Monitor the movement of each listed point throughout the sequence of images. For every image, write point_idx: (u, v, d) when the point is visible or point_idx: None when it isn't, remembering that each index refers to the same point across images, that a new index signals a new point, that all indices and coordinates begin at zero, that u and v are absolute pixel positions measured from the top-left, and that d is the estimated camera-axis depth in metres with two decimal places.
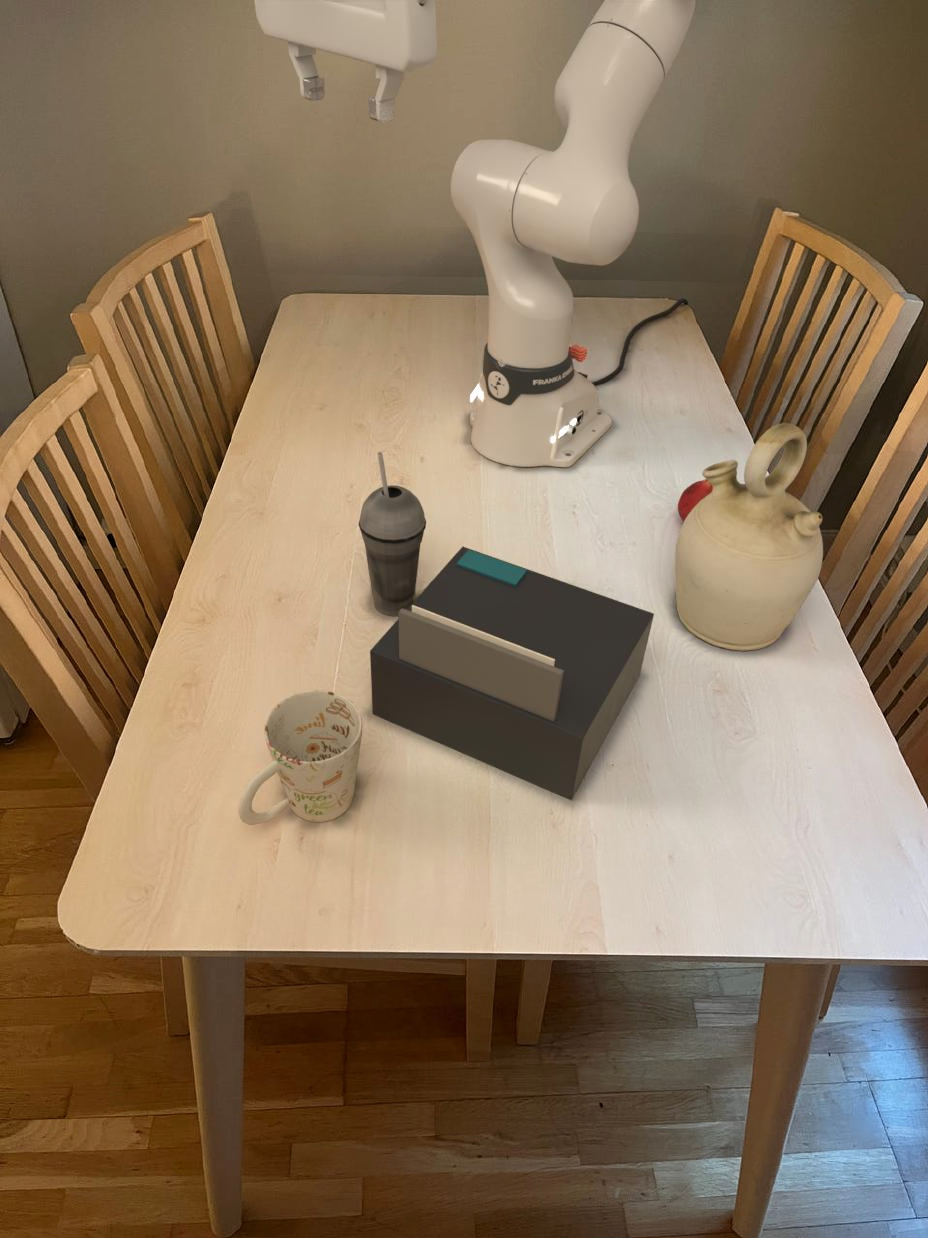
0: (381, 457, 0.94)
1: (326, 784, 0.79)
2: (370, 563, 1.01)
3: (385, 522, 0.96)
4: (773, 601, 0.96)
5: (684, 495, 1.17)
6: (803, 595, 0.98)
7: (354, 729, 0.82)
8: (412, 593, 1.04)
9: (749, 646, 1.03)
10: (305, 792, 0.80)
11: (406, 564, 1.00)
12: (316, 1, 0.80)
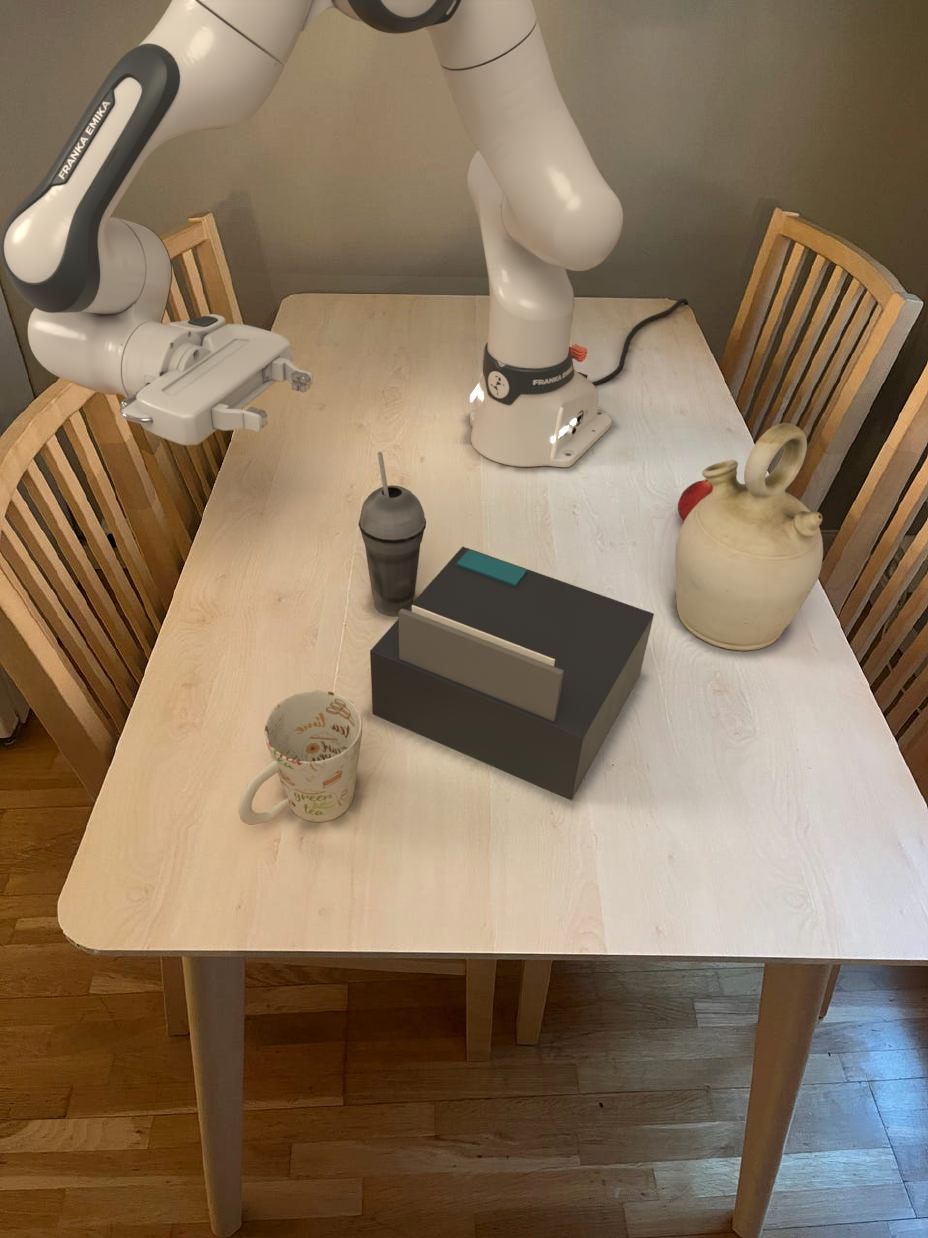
0: (381, 457, 0.94)
1: (326, 784, 0.79)
2: (370, 563, 1.01)
3: (385, 522, 0.96)
4: (773, 601, 0.96)
5: (684, 495, 1.17)
6: (803, 595, 0.98)
7: (354, 729, 0.82)
8: (412, 593, 1.04)
9: (749, 646, 1.03)
10: (305, 792, 0.80)
11: (406, 564, 1.00)
12: None
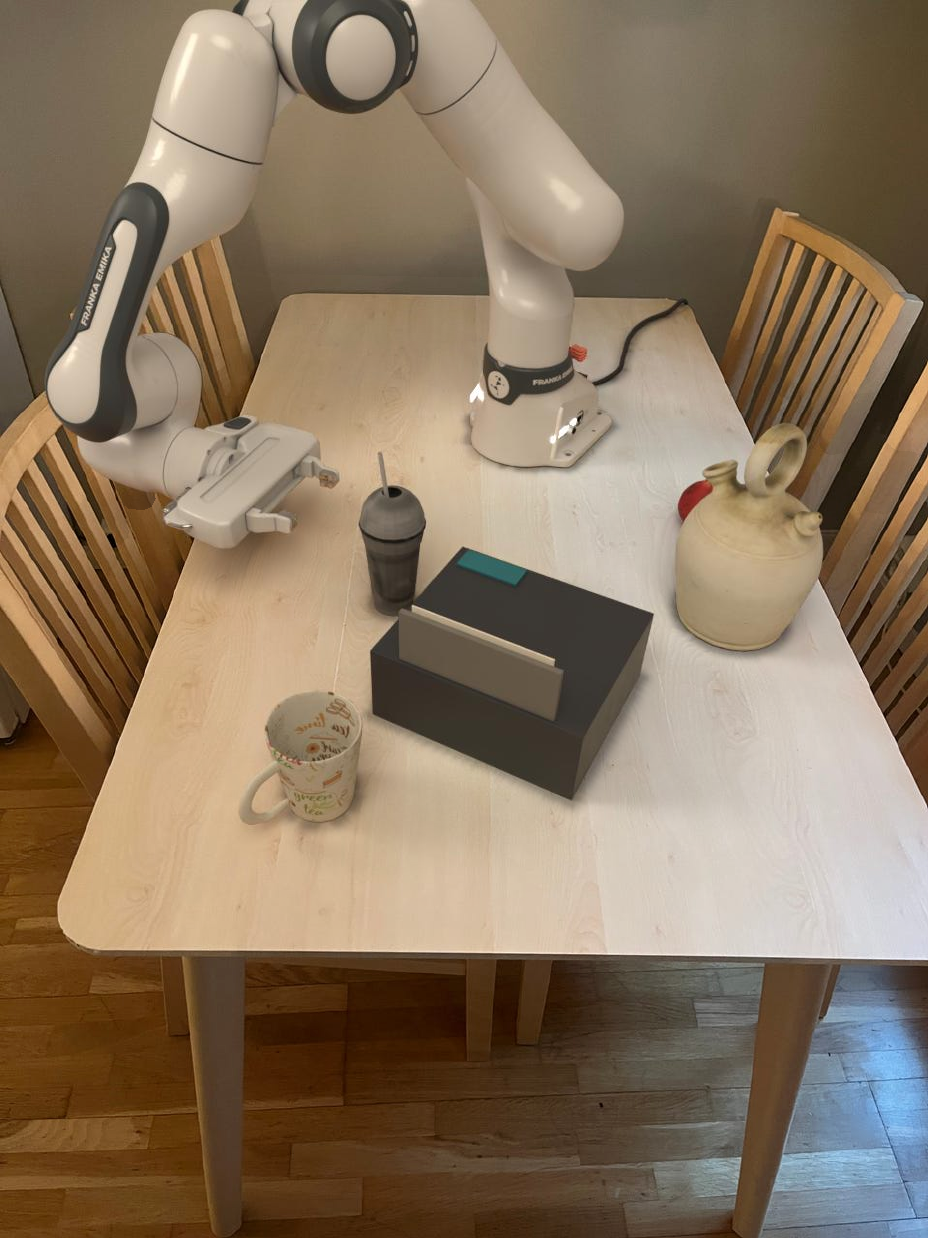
0: (381, 457, 0.94)
1: (326, 784, 0.79)
2: (370, 563, 1.01)
3: (385, 522, 0.96)
4: (773, 601, 0.96)
5: (684, 495, 1.17)
6: (803, 595, 0.98)
7: (354, 729, 0.82)
8: (412, 593, 1.04)
9: (749, 646, 1.03)
10: (305, 792, 0.80)
11: (406, 564, 1.00)
12: None
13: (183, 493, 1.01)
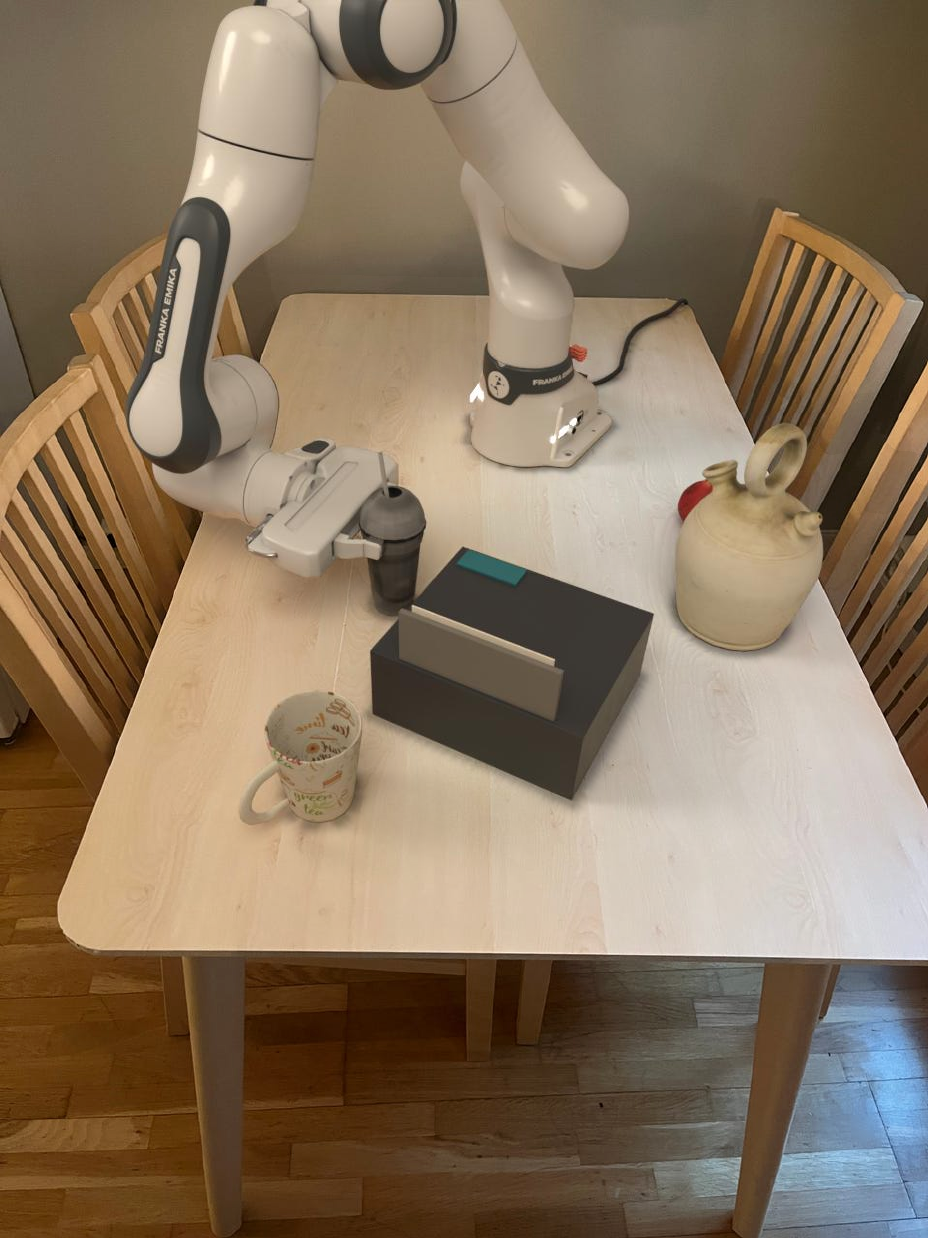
0: (381, 457, 0.94)
1: (326, 784, 0.79)
2: (370, 563, 1.01)
3: (385, 522, 0.96)
4: (773, 601, 0.96)
5: (684, 495, 1.17)
6: (803, 595, 0.98)
7: (354, 729, 0.82)
8: (412, 593, 1.04)
9: (749, 646, 1.03)
10: (305, 792, 0.80)
11: (406, 564, 1.00)
12: None
13: (265, 520, 0.99)
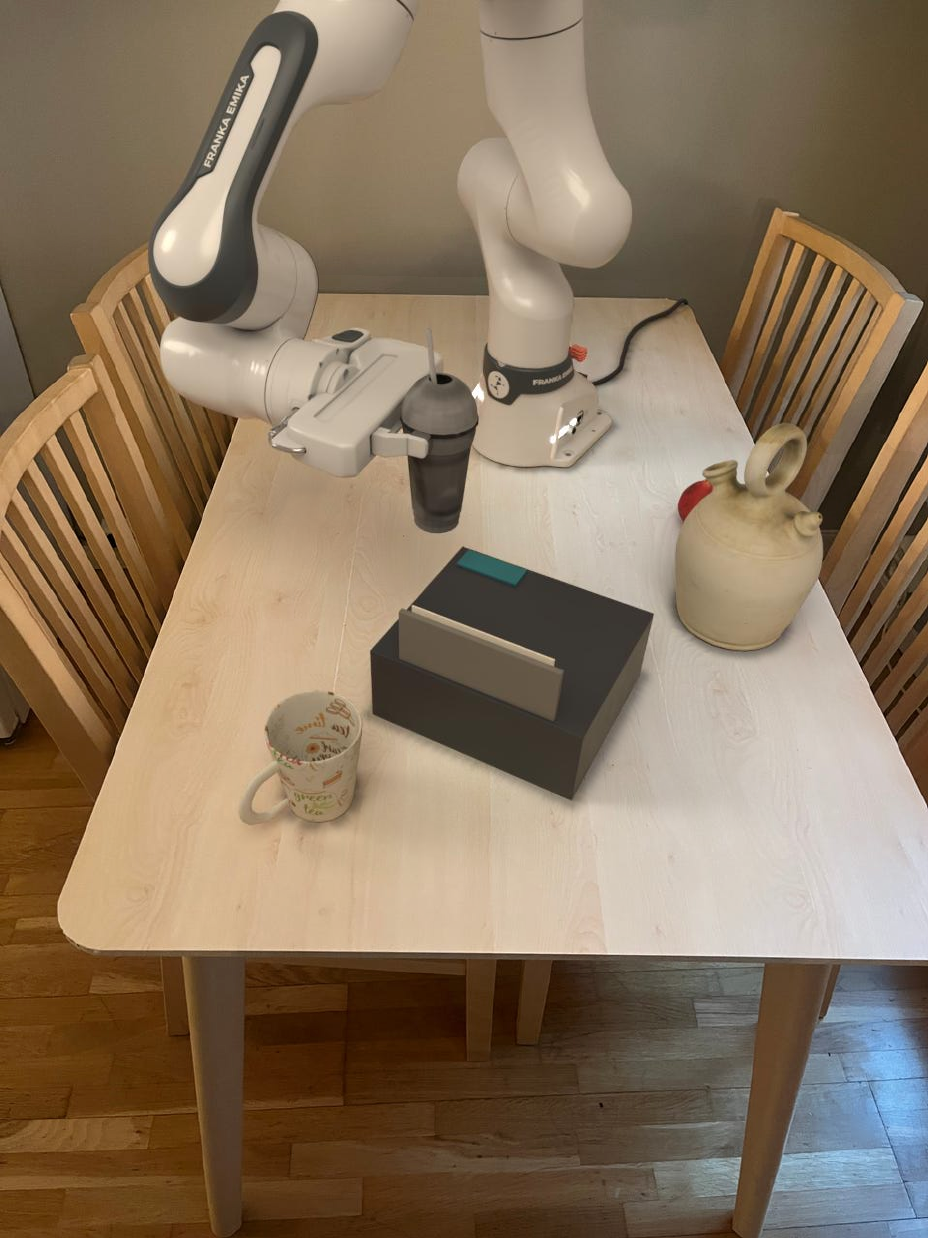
0: (430, 333, 0.80)
1: (326, 784, 0.79)
2: (412, 467, 0.87)
3: (433, 413, 0.81)
4: (773, 601, 0.96)
5: (684, 495, 1.17)
6: (803, 595, 0.98)
7: (354, 729, 0.82)
8: (459, 506, 0.90)
9: (749, 646, 1.03)
10: (305, 792, 0.80)
11: (455, 467, 0.86)
12: None
13: (291, 413, 0.84)
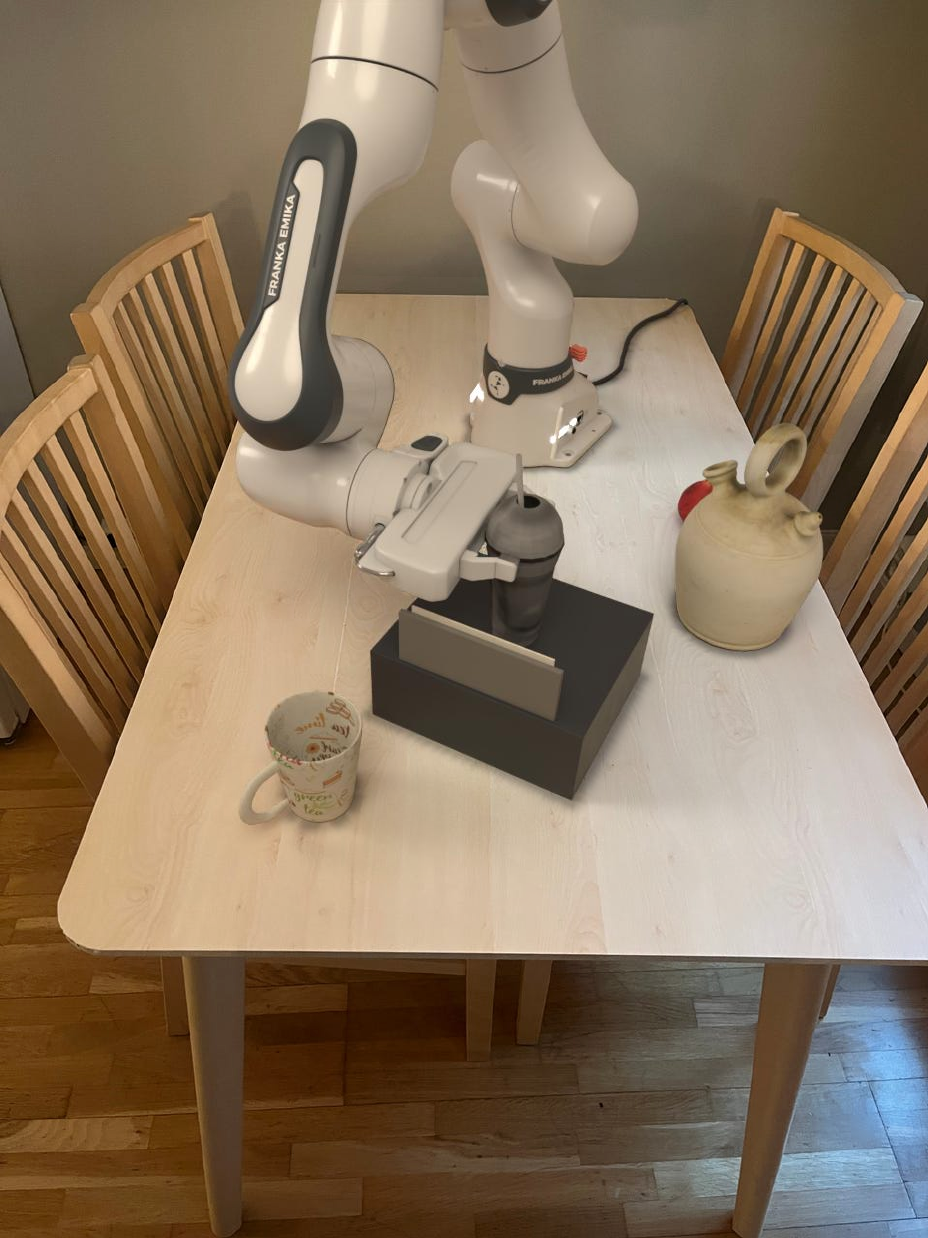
0: (520, 460, 0.78)
1: (326, 784, 0.79)
2: (495, 586, 0.85)
3: (521, 538, 0.80)
4: (773, 601, 0.96)
5: (684, 495, 1.17)
6: (803, 595, 0.98)
7: (354, 729, 0.82)
8: (540, 620, 0.88)
9: (749, 646, 1.03)
10: (305, 792, 0.80)
11: (540, 587, 0.84)
12: None
13: (375, 531, 0.82)
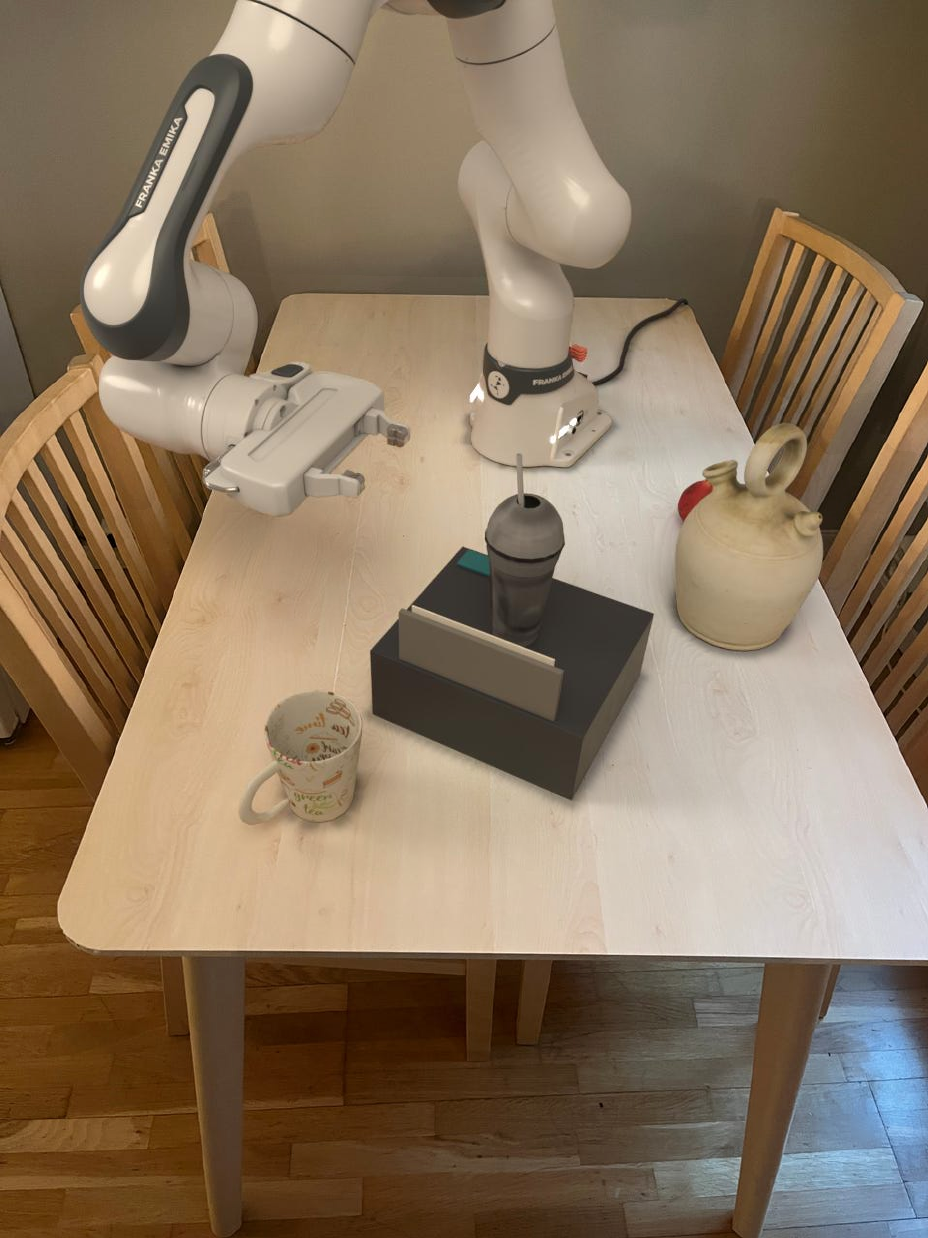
0: (520, 460, 0.78)
1: (326, 784, 0.79)
2: (495, 586, 0.85)
3: (521, 538, 0.80)
4: (773, 601, 0.96)
5: (684, 495, 1.17)
6: (803, 595, 0.98)
7: (354, 729, 0.82)
8: (540, 620, 0.88)
9: (749, 646, 1.03)
10: (305, 792, 0.80)
11: (540, 587, 0.84)
12: None
13: (226, 451, 0.84)
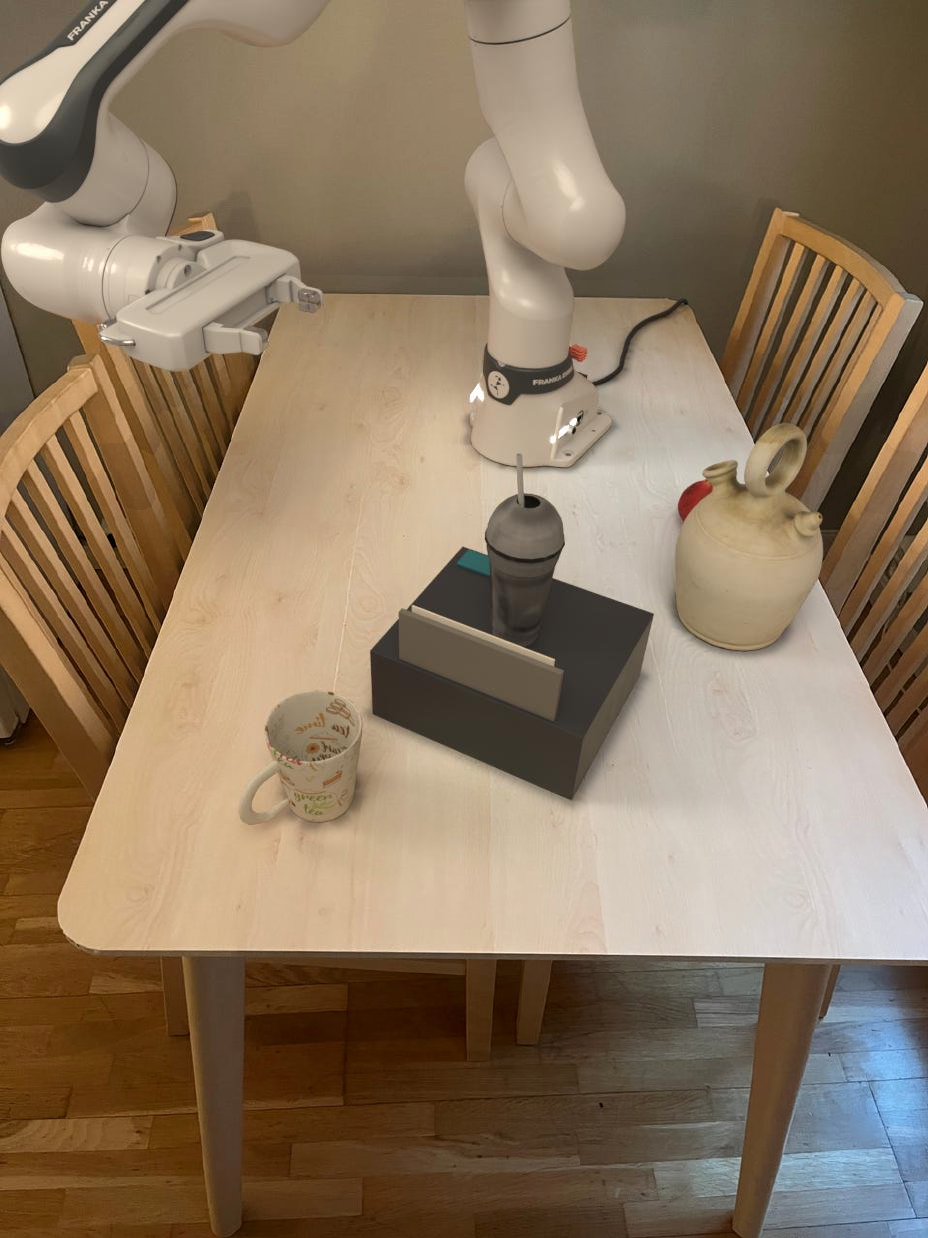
0: (520, 460, 0.78)
1: (326, 784, 0.79)
2: (495, 586, 0.85)
3: (522, 538, 0.80)
4: (773, 601, 0.96)
5: (684, 495, 1.17)
6: (803, 595, 0.98)
7: (354, 729, 0.82)
8: (540, 620, 0.88)
9: (749, 646, 1.03)
10: (305, 792, 0.80)
11: (540, 587, 0.84)
12: None
13: None
